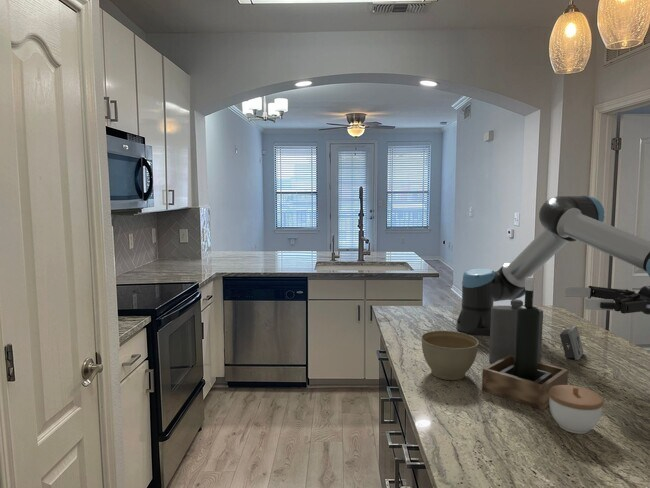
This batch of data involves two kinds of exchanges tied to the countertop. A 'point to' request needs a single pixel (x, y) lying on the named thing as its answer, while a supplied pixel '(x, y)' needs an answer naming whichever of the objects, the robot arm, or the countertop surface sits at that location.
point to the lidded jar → (575, 408)
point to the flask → (507, 331)
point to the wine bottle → (527, 336)
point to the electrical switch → (572, 343)
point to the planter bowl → (449, 353)
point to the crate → (522, 382)
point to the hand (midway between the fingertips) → (574, 297)
